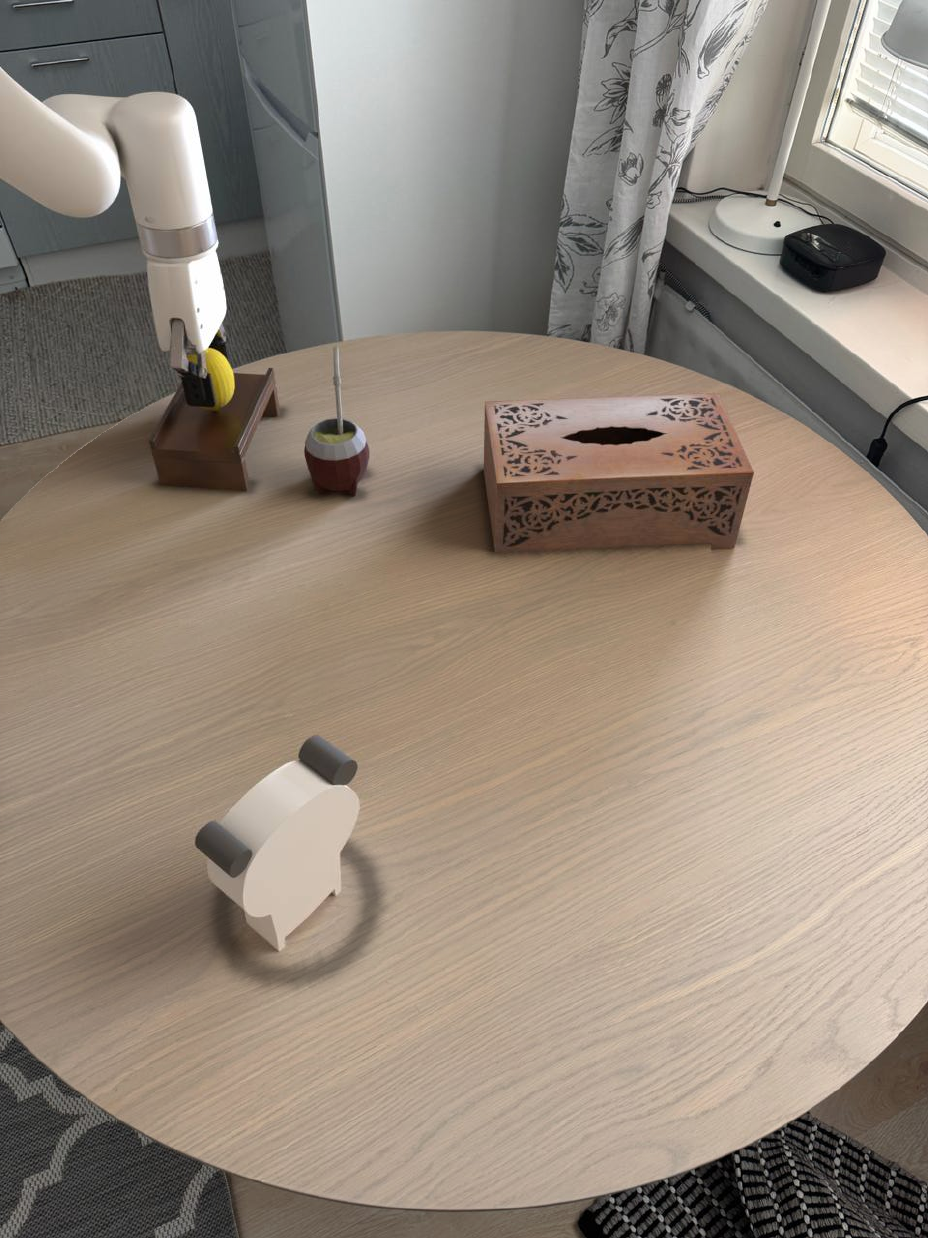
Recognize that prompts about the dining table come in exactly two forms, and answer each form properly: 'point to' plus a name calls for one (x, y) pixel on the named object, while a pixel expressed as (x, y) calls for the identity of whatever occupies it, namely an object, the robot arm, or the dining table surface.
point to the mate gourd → (336, 449)
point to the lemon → (218, 376)
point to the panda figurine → (285, 840)
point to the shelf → (212, 436)
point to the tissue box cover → (613, 472)
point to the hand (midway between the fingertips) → (209, 388)
